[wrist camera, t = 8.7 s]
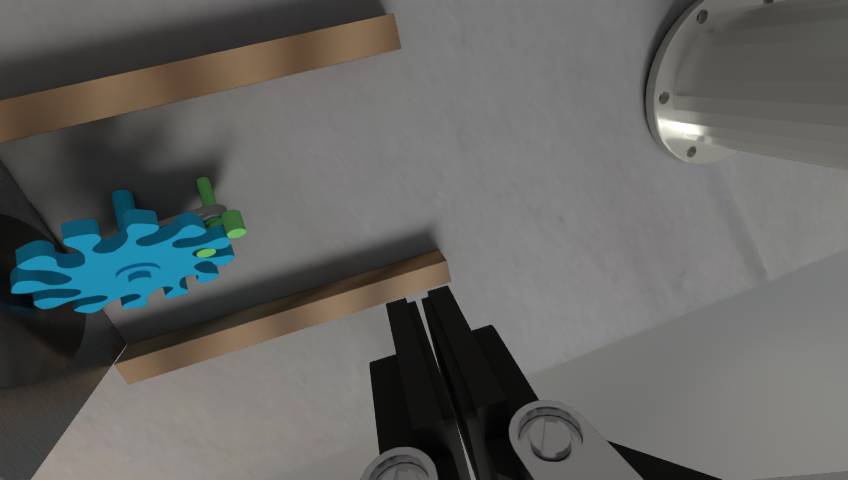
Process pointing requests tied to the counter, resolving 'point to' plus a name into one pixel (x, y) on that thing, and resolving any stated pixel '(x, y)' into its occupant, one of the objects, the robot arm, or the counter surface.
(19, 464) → the plate with round knob
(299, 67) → the channel rails
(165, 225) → the gear
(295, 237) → the counter surface
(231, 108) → the counter surface
